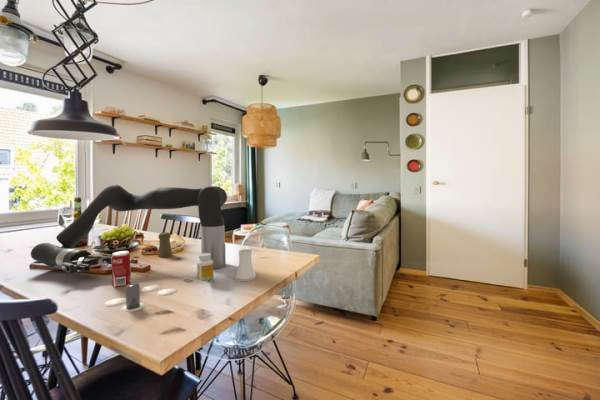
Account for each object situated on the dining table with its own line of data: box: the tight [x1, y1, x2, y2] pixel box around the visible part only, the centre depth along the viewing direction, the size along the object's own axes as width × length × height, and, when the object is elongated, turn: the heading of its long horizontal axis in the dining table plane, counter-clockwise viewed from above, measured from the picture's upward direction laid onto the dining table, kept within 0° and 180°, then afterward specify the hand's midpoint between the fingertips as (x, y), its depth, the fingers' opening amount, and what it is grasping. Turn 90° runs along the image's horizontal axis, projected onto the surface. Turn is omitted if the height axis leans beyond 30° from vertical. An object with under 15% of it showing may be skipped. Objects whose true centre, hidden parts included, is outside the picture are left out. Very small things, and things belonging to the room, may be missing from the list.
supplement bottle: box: [196, 252, 214, 284], centre depth 98 cm, size 5×5×10 cm
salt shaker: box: [234, 248, 257, 282], centre depth 103 cm, size 8×8×10 cm
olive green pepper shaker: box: [157, 232, 173, 258], centre depth 131 cm, size 6×6×11 cm
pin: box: [124, 282, 141, 310], centre depth 75 cm, size 3×3×6 cm
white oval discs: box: [103, 284, 178, 313], centre depth 82 cm, size 22×13×1 cm, turn 157°
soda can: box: [110, 250, 132, 288], centre depth 91 cm, size 5×5×12 cm
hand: (102, 264), depth 95 cm, fingers open, 8 cm apart
